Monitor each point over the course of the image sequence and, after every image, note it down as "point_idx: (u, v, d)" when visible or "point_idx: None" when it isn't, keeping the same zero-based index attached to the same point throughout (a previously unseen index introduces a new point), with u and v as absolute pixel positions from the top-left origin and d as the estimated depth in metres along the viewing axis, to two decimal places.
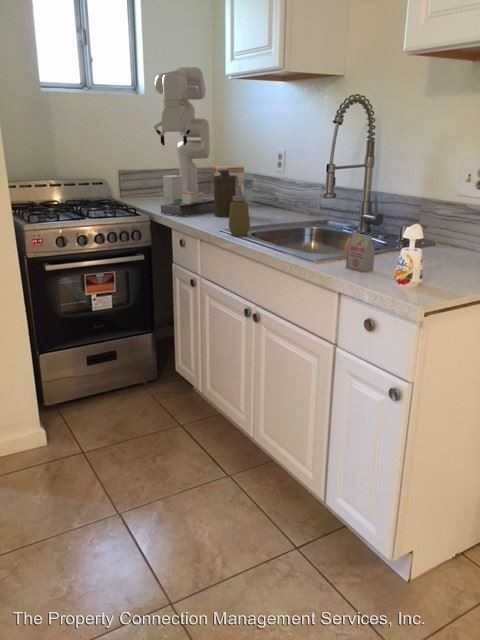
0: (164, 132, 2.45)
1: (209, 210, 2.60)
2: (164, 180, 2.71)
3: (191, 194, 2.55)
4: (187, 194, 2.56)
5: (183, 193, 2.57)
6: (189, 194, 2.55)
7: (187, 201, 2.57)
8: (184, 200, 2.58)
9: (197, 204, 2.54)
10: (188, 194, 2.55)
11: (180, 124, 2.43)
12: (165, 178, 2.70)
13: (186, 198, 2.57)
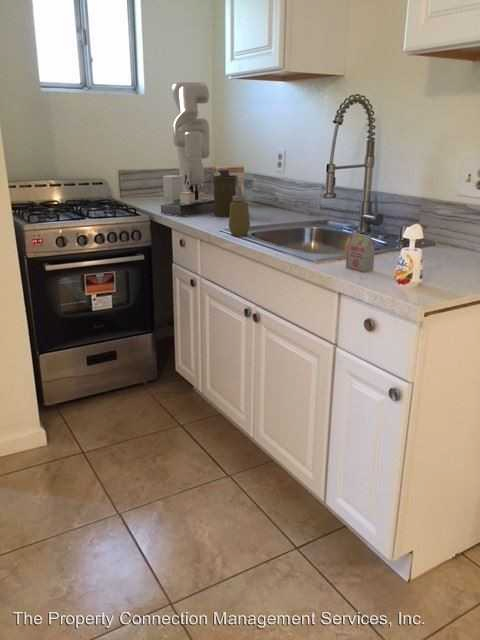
0: (194, 186, 2.57)
1: (209, 210, 2.60)
2: (164, 180, 2.71)
3: (189, 194, 2.54)
4: (185, 194, 2.55)
5: (181, 193, 2.57)
6: (187, 194, 2.54)
7: (185, 201, 2.56)
8: (182, 200, 2.57)
9: (197, 204, 2.54)
10: (186, 194, 2.54)
11: (202, 177, 2.59)
12: (165, 178, 2.70)
13: (184, 198, 2.56)
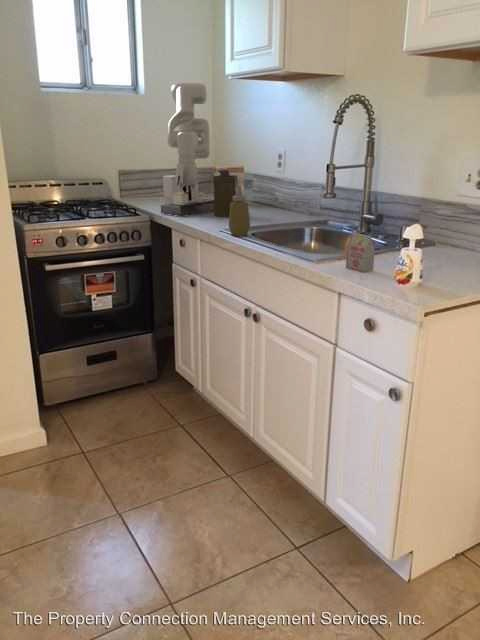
0: (187, 186, 2.55)
1: (209, 210, 2.60)
2: (164, 180, 2.71)
3: (182, 195, 2.51)
4: (178, 195, 2.52)
5: (174, 194, 2.54)
6: (180, 195, 2.51)
7: (178, 202, 2.53)
8: (175, 201, 2.54)
9: (197, 204, 2.54)
10: (179, 195, 2.52)
11: (196, 178, 2.56)
12: (165, 178, 2.70)
13: (177, 199, 2.53)
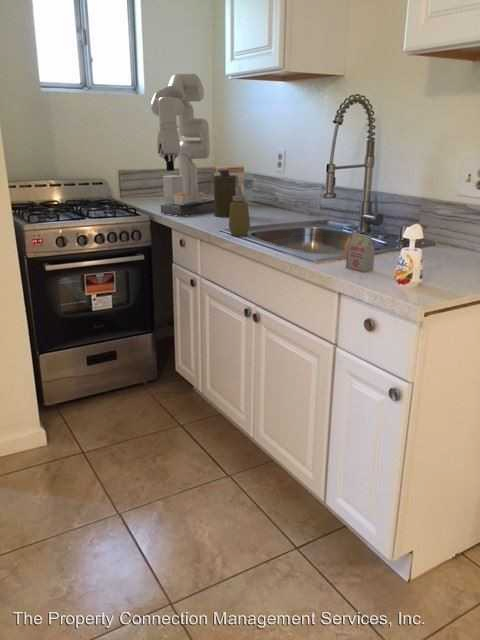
0: (169, 155, 2.43)
1: (209, 210, 2.60)
2: (164, 180, 2.71)
3: (183, 195, 2.51)
4: (179, 195, 2.52)
5: (175, 194, 2.54)
6: (181, 195, 2.51)
7: (179, 202, 2.53)
8: (176, 201, 2.55)
9: (197, 204, 2.54)
10: (180, 195, 2.52)
11: (178, 146, 2.44)
12: (165, 178, 2.70)
13: (178, 199, 2.53)
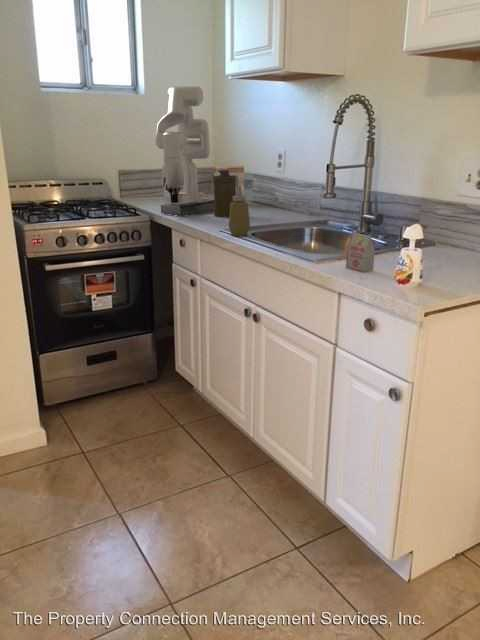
0: (173, 188, 2.49)
1: (209, 210, 2.60)
2: None
3: (183, 195, 2.52)
4: (179, 195, 2.52)
5: None
6: (181, 195, 2.52)
7: (179, 202, 2.54)
8: None
9: (197, 204, 2.54)
10: (180, 195, 2.52)
11: (182, 180, 2.50)
12: None
13: (178, 199, 2.54)
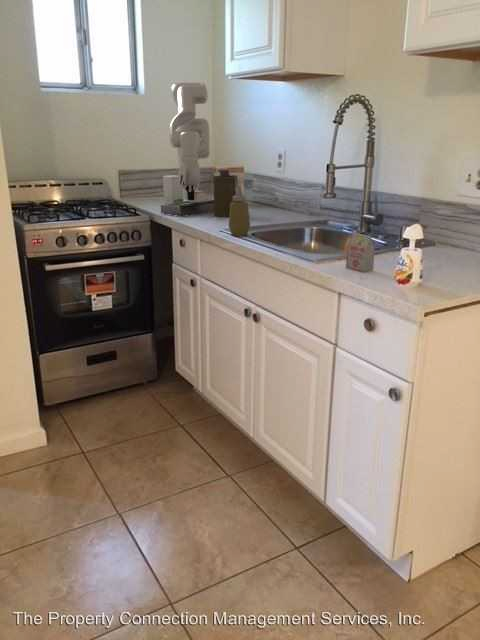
0: (190, 186, 2.56)
1: (209, 210, 2.60)
2: (164, 180, 2.71)
3: (199, 193, 2.58)
4: (196, 193, 2.59)
5: None
6: (198, 193, 2.58)
7: (195, 200, 2.61)
8: None
9: (197, 204, 2.54)
10: (197, 193, 2.59)
11: (198, 177, 2.57)
12: (165, 178, 2.70)
13: (194, 197, 2.61)
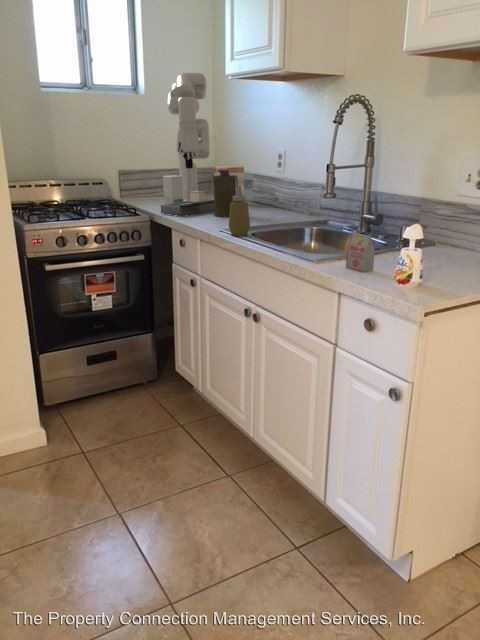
0: (188, 154, 2.51)
1: (209, 210, 2.60)
2: (164, 180, 2.71)
3: (199, 193, 2.58)
4: (195, 193, 2.59)
5: (191, 192, 2.61)
6: (197, 193, 2.58)
7: (195, 200, 2.60)
8: (192, 199, 2.62)
9: (197, 204, 2.54)
10: (196, 193, 2.59)
11: (197, 145, 2.52)
12: (165, 178, 2.70)
13: (194, 197, 2.60)
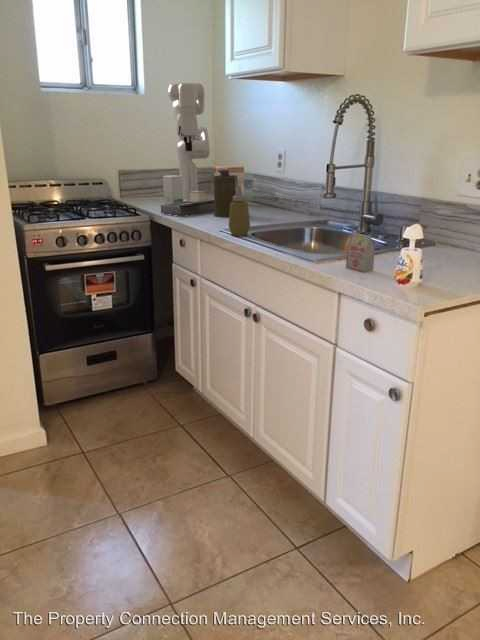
0: None
1: (209, 210, 2.60)
2: (164, 180, 2.71)
3: (199, 193, 2.58)
4: (195, 193, 2.59)
5: (191, 192, 2.61)
6: (197, 193, 2.58)
7: (195, 200, 2.60)
8: (192, 199, 2.62)
9: (197, 204, 2.54)
10: (196, 193, 2.59)
11: (196, 129, 2.67)
12: (165, 178, 2.70)
13: (194, 197, 2.60)
